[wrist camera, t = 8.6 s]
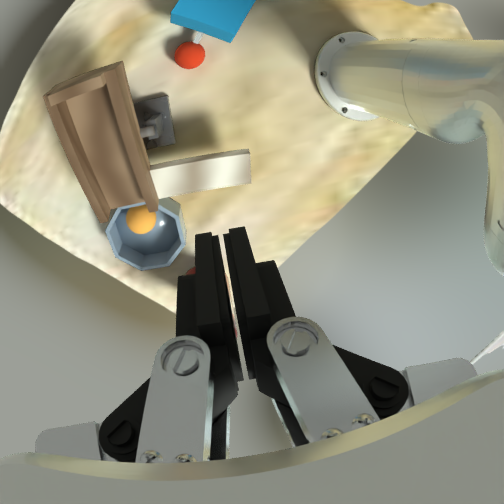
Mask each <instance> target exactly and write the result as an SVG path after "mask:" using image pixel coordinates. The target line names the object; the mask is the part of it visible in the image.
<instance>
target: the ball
mask: <svg viewBox="0 0 504 504" xmlns="http://www.w3.org/2000/svg"><path fill="white" fill-rule="evenodd" d="M126 223H127V226H128V227H129V229H130V230H131V231H133V232H134V233H137V234H145V233H147V232H149V231H151V230H152V229H153V227H154V226H155V223H156V213H155V212H151V213H149V211H148V208H147V206H146V204H145V205H140V206H135V207H131V208H129V210H128V212H127V214H126Z"/></svg>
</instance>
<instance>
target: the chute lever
mask: <svg viewBox="0 0 504 504" xmlns="http://www.w3.org/2000/svg"><path fill="white" fill-rule="evenodd" d="M43 98H44V101H45V103H46V106H47V109H48V112H49V114H50V117H51V119H52V122H53V124H54V127H55V129H56V132H57V134H58V137H59V139H60V142H61V144H62V146H63V149H64V151H65V153H66V155H67V158H68V160H69V162H70V164H71V166H72V168H73V171H74V173H75V175H76V177H77V179H78V181H79V183H80V185H81V187H82V189H83V191H84V193H85V195H86V197H87V199H88V201H89V203H90V205H91V207H92V208H93V210H94V212H95V214H96V216H97V218H98V220H99V221H100V223H104V222H108V220H109V215H110V211H111V209H115V208H119V207H123V206H128V205H132V204H137V203H142V202H145V203H146V206H147V208H148V211H149V213H151V212H156V211H158V203H159V199H161V198H166V197H172V196H177V195H182V194H188V193H193V192H199V191H205V190H211V189H217V188H223V187H229V186H236V185H243V184H250V183H251V163H250V152H249V149H241V150H234V151H227V152H220V153H214V154H208V155H202V156H196V157H190V158H185V159H179V160H174V161H169V162H164V163H159V164H155V165H150V162H149V159H148V156H147V152H146V149H145V145H144V142H143V138H144V137H148V136H153V135H155V129H154V126H149V127H145V128H139V124H138V120H137V117H136V113H135V109H134V105H133V101H132V97H131V93H130V89H129V85H128V81H127V77H126V72H125V68H124V63H123V61H120V62H117V63H114V64H110V65H107V66H104V67H101V68H98V69H95V70H93V71H90V72H87V73H84V74H82V75H79V76H77V77H74V78H72V79H69V80H67V81H64V82H62V83H60V84H57V85H55V86H54V87H53V88H52V89H51V90H50V91H49V92H47V93H46V94H45V95H44V96H43Z"/></svg>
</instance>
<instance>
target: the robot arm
mask: <svg viewBox="0 0 504 504" xmlns="http://www.w3.org/2000/svg"><path fill="white" fill-rule="evenodd" d="M339 39H340V42H339ZM320 72H322V76H321V75H320ZM315 79H316V84H317V87H318V89H319V92H320V94H321V96H322V97H323V99H324V101H325V102H326V103H327V104H328V105H329V106H330V108H332V109H333V110H334V111H335V112H337V113H338V114H340V115H342V116H344V117H346V118H349V119H352V120H357V121H369V120H374V119H376V118H379V117H382V118H384V119H387V120H390V121H393V122H396V123H398V124H401V125H404V126H406V127H409V128H411V129H414V130H416V131H419V132H422V133H424V134H426V135H428V136H431V137H433V138H436V139H438V140H440V141H443V142H446V143H451V144H463V143H467V142H470V141H473V140H475V139H477V138H479V137H481V136H483V135H484V134H485V136H486V141H487V154H488V158H487V159H488V183H487V198H486V207H485V217H484V244H485V249H486V252H487V255H488V257H489V259H490V261H491V263H492V265H493V266H494V267H495V269H496V270H497V271H498V272H499V273H500V274H501V275H502V276H503V277H504V40H460V39H426V38H412V39H386V40H378V39H377V38H375V37H373V36H371V35H369V34H366V33H362V32H345V33H341V34H338V35H336V36H334V37H332V38H330V39H329V40H328V41H327V42H326V43H325V44H324V45H323V47H322V48H321V49H320V51H319V53H318V56H317V58H316V64H315ZM342 108H343V110H342ZM223 236H224V243H225V249H226V255H227V261H228V267H229V273H230V279H231V285H232V291H233V297H234V303H235V308H236V314H237V319H238V324H239V330H240V335H241V341H242V346H243V350H244V356H245V361H246V366H247V371H248V376H249V379H255V378H256V382H257V385H258V388H259V391H260V392H262V393H264V394H265V395H267V396H269V397H271V398H272V402H273V404H274V406H275V408H276V411H277V413H278V415H279V417H280V419H281V422H282V424H283V427H284V429H285V431H286V433H287V435H288V438H289V440H290V442H291V444H292V446H293V448H289V449H285V450H279V451H275V452H270V453H265V454H258V455H252V456H246V457H239V458H232V459H229V440H230V404H231V402H232V401H233V400H234V399H235V398H236V397H237V395H238V392H237V391H238V390H239V389H238V383H237V382H238V381H243V380H244V379H243V373H242V368H241V362H240V357H239V351H238V345H237V339H236V333H235V327H234V321H233V315H232V309H231V303H230V297H229V291H228V286H227V281H226V276H225V270H224V265H223V259H222V254H221V248H220V243H219V237H218V235H216V236H212V233H211V232H208V233H202V234H196V235H195V274H189V275H183V276H179V277H178V287H177V311H176V337H175V338H172V339H170V340H168V341H167V342H166V343H164V344H163V345H162V346H161V347H160V349H159V350H158V352H157V354H156V356H155V361H154V365H153V370H152V374H151V377H150V378H149V379H148V380H147V381H146V382H145V383H143V384H142V385H141V386H140V387H139V388H138V389H137V390H136V391H135V392H134V393H133V394H132V395H131V396H129V397H128V398H127V399H126V400H125V401H124V402H123V403H122V404H121V405H120V406H119V407H118V408H117V409H115V410H114V411H113V412H112V413H111V414H110V415H109V416H108V417H107V418H106V419H105V420H104V421H103V423H96V422H95V421H93V422H88V423H83V424H79V425H72V426H66V427H60V428H53V429H48V430H45V431H43V432H42V433H41V434H40V435H39V436H38V438H37V440H36V445H35V453H31V452H28V453H18V454H12V455H9V456H7V457H4V458H1V459H0V504H504V369H502V370H495V371H490V372H486V373H483V374H480V375H477V373H476V370H475V369H474V367H473V365H472V364H471V363H470V362H469V361H467V360H465V359H463V358H453V359H449V360H444V361H439V362H434V363H429V364H423V365H417V366H410V367H406V368H405V369H404V370H403V371H397V370H395V369H393V368H391V367H388V366H385V365H383V364H380V363H377V362H375V361H372V360H370V359H367V358H364V357H362V356H359V355H357V354H354V353H351V352H349V351H347V350H344V349H342V348H339V347H337V346H334V345H332V344H331V342H330V341H329V339H328V338H327V336H326V335H325V333H324V332H323V330H322V329H321V327H319V325H318V324H317V323H315V322H313V321H312V320H310V319H307V318H303V317H296V316H295V313H294V310H293V308H292V305H291V302H290V300H289V297H288V294H287V292H286V289H285V286H284V284H283V281H282V279H281V276H280V273H279V271H278V268H277V266H276V263H275V261H274V260H272V261H266V262H260V263H255V260H254V256H253V253H252V250H251V246H250V243H249V239H248V236H247V232H246V229H245V227H238V228H232V229H229V233H228V234H223Z"/></svg>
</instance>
